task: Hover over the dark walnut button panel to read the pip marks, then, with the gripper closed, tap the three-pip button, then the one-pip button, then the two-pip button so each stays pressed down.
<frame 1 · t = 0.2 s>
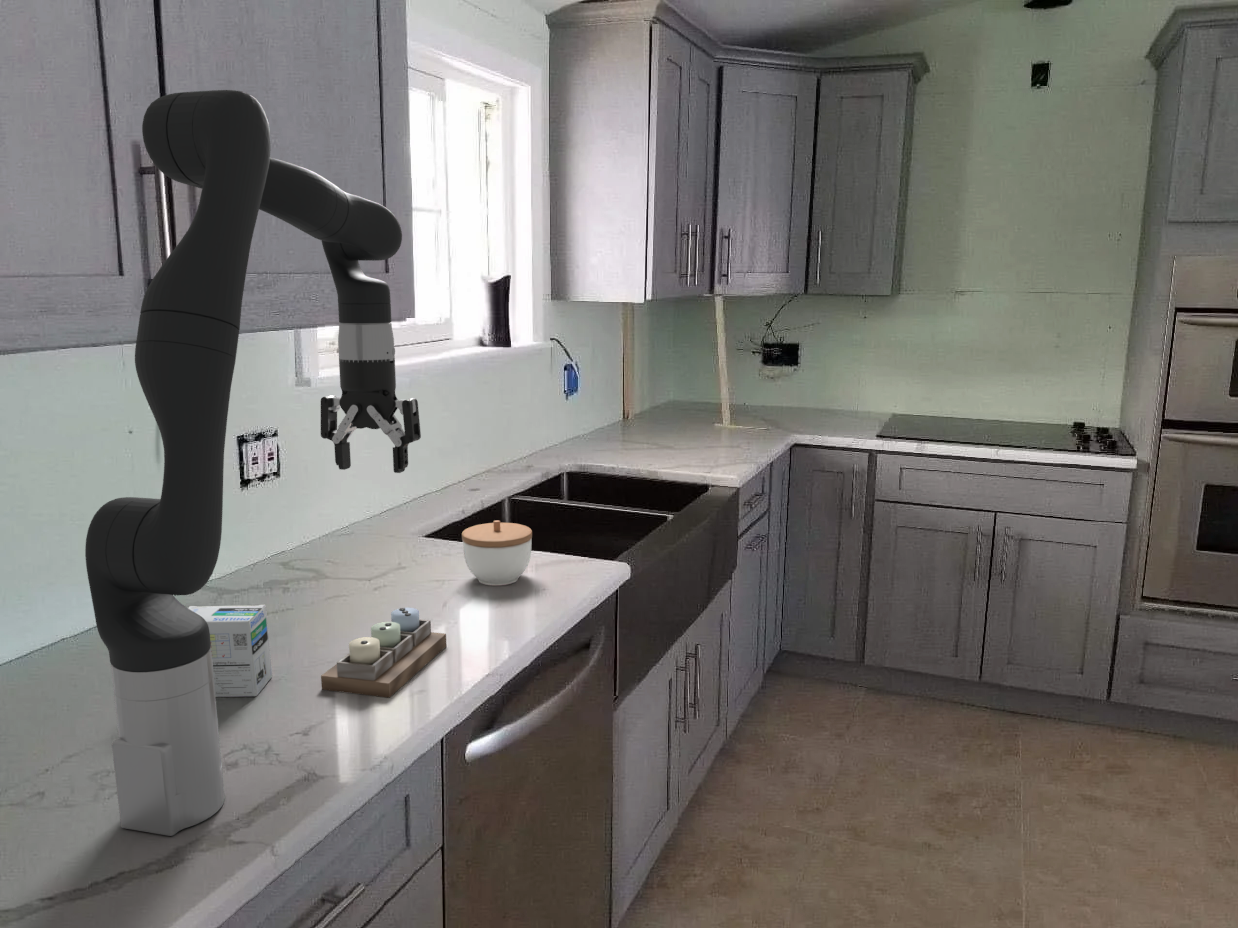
hand: (372, 470, 135), 27 cm above the worktop, tool pointing down, fingers open, 8 cm apart
two-pip button: (385, 634, 134), point 5 cm above the worktop, slide at 0.0 cm
light bulb box: (226, 689, 128), on the worktop
lidded bowl: (498, 580, 173), on the worktop
button panel: (387, 666, 135), on the worktop
one-pip button: (364, 650, 128), point 5 cm above the worktop, slide at 0.0 cm
three-pip button: (405, 619, 140), point 5 cm above the worktop, slide at 0.0 cm
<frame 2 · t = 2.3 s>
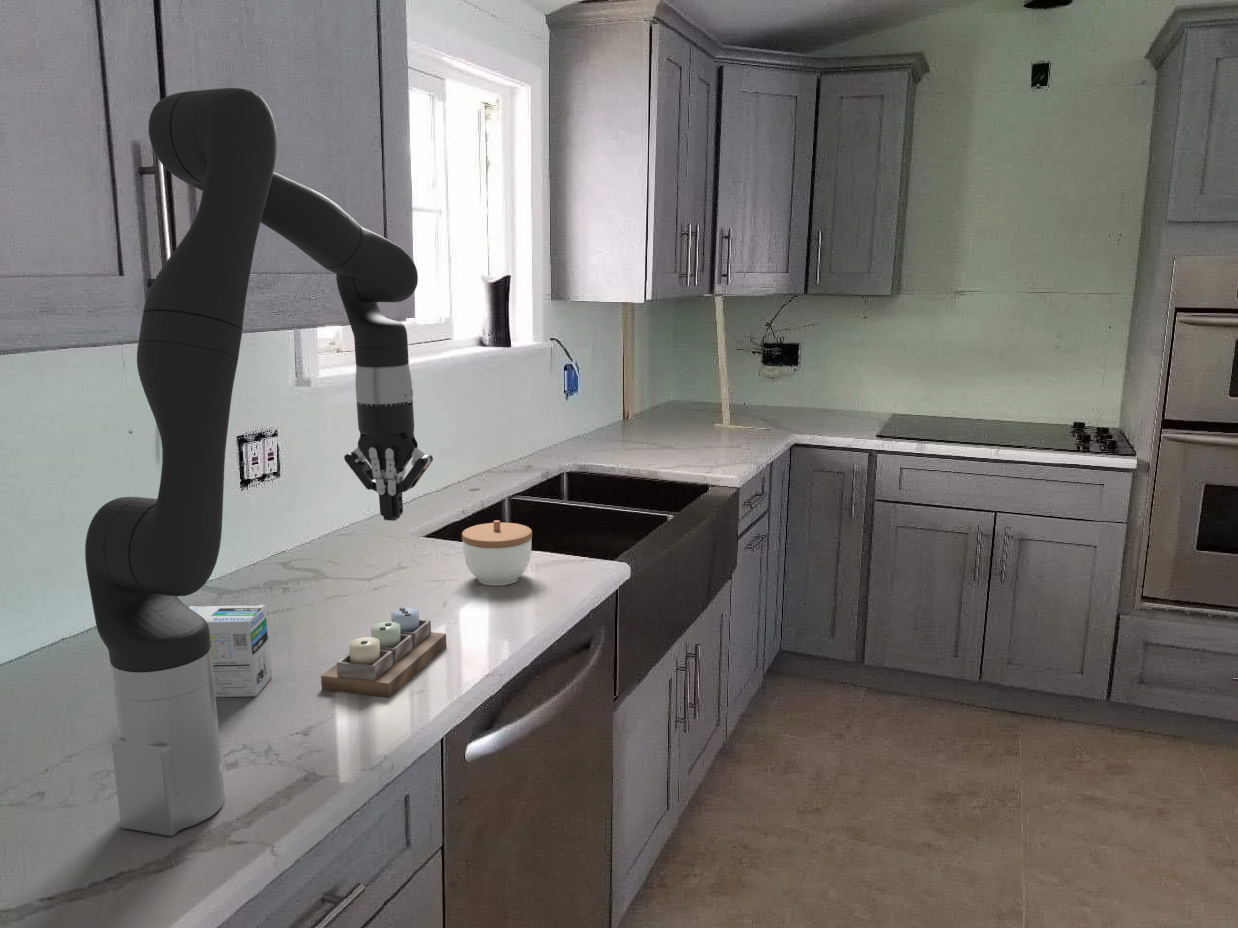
hand: (392, 518, 134), 21 cm above the worktop, tool pointing down, fingers closed
nothing on the worktop moved.
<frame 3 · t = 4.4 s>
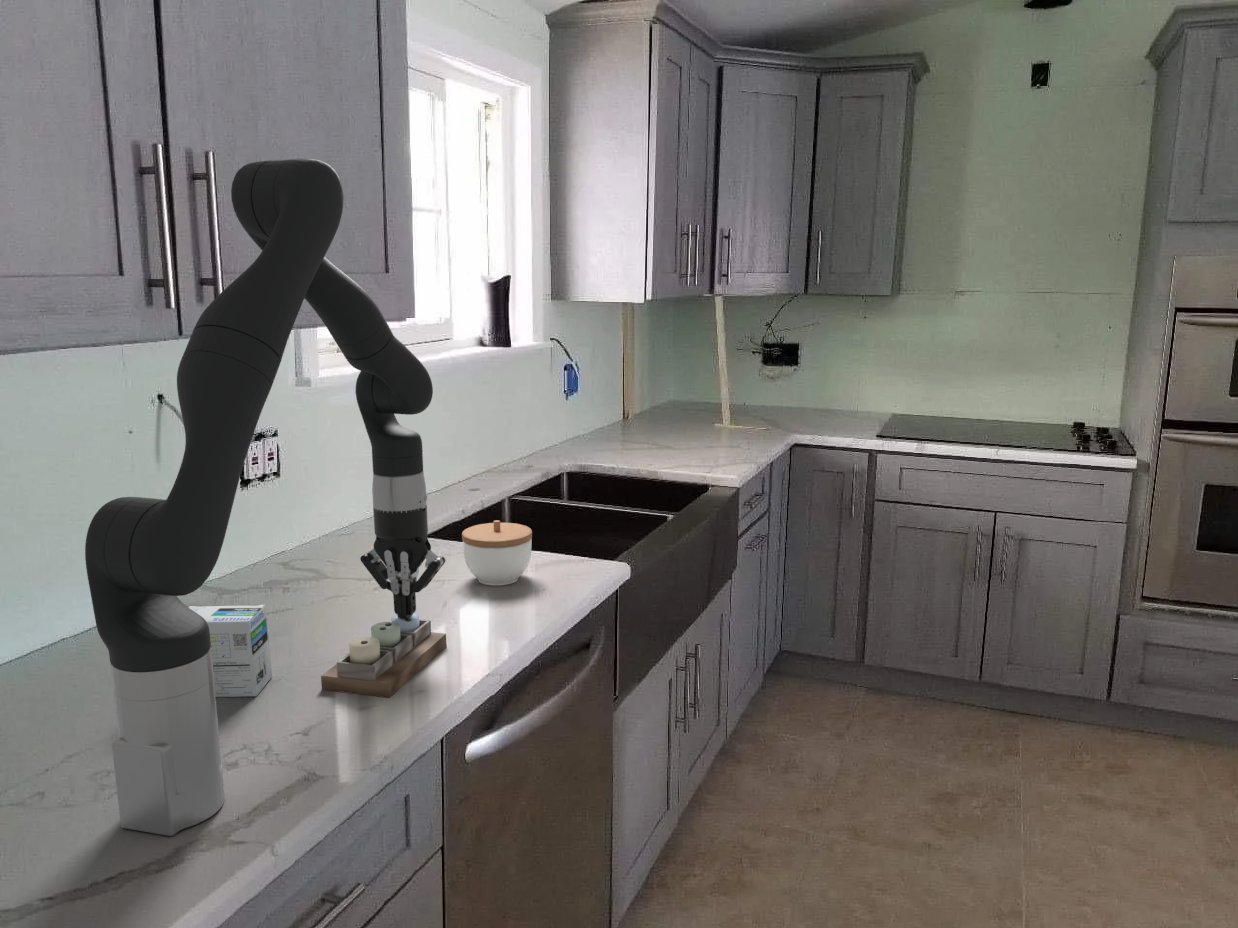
hand: (405, 616, 140), 5 cm above the worktop, tool pointing down, fingers closed
three-pip button: (405, 625, 140), point 4 cm above the worktop, slide at 0.9 cm, touching gripper
everything else where it was.
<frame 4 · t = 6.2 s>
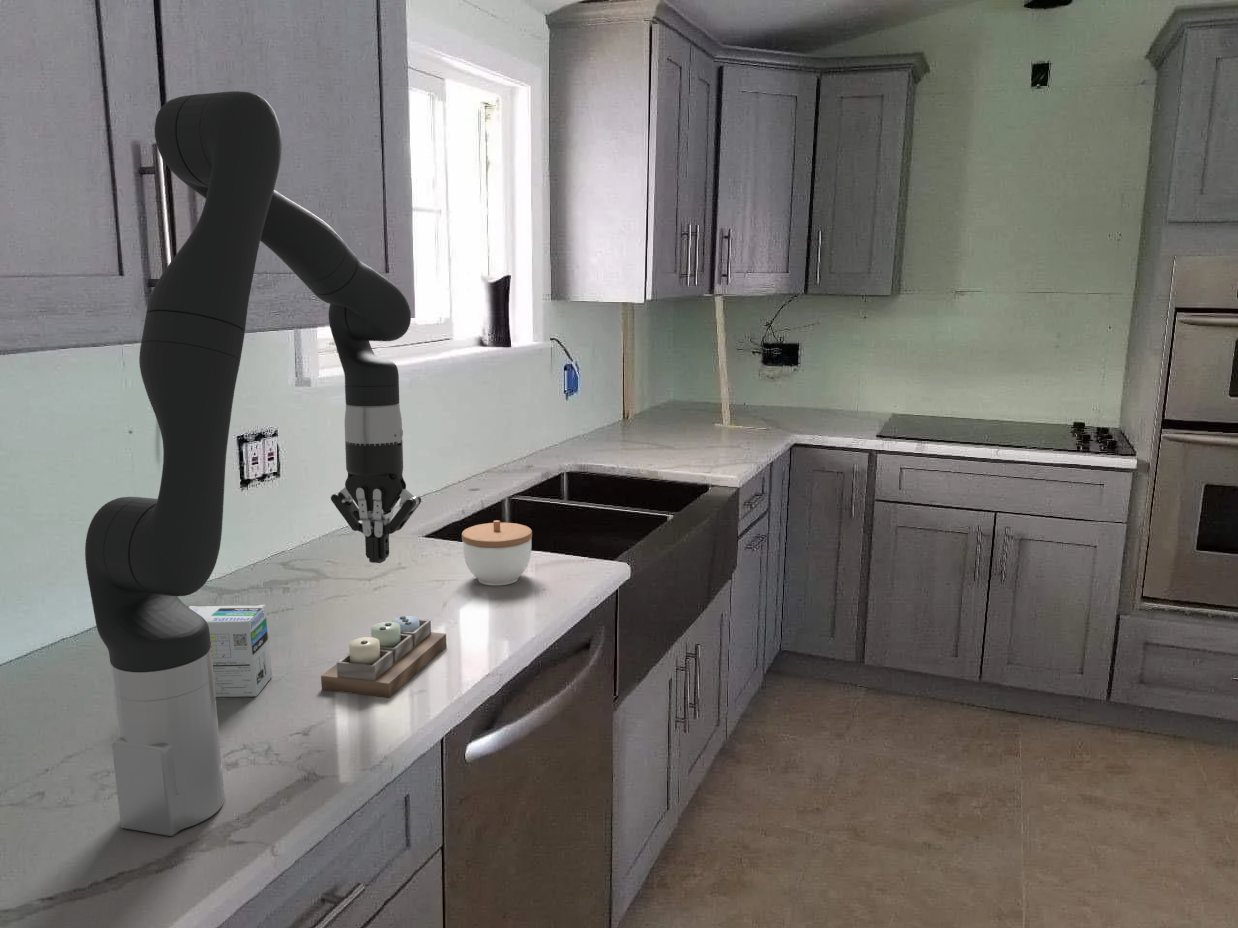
hand: (378, 561, 131), 16 cm above the worktop, tool pointing down, fingers closed
three-pip button: (405, 628, 140), point 3 cm above the worktop, slide at 1.3 cm
everything else where it was.
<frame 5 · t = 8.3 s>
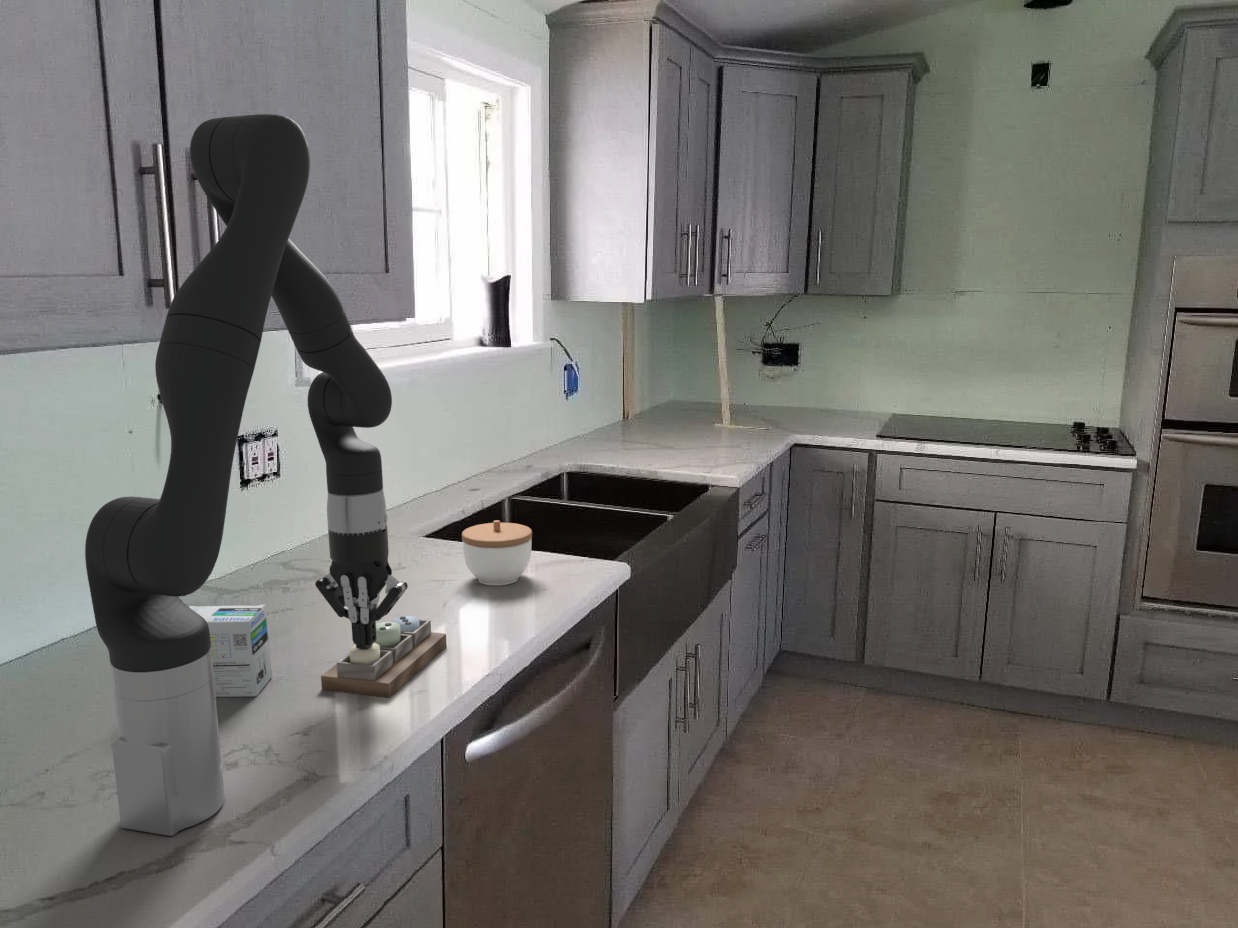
hand: (365, 646, 128), 5 cm above the worktop, tool pointing down, fingers closed
one-pip button: (365, 656, 128), point 4 cm above the worktop, slide at 0.8 cm, touching gripper
everything else where it was.
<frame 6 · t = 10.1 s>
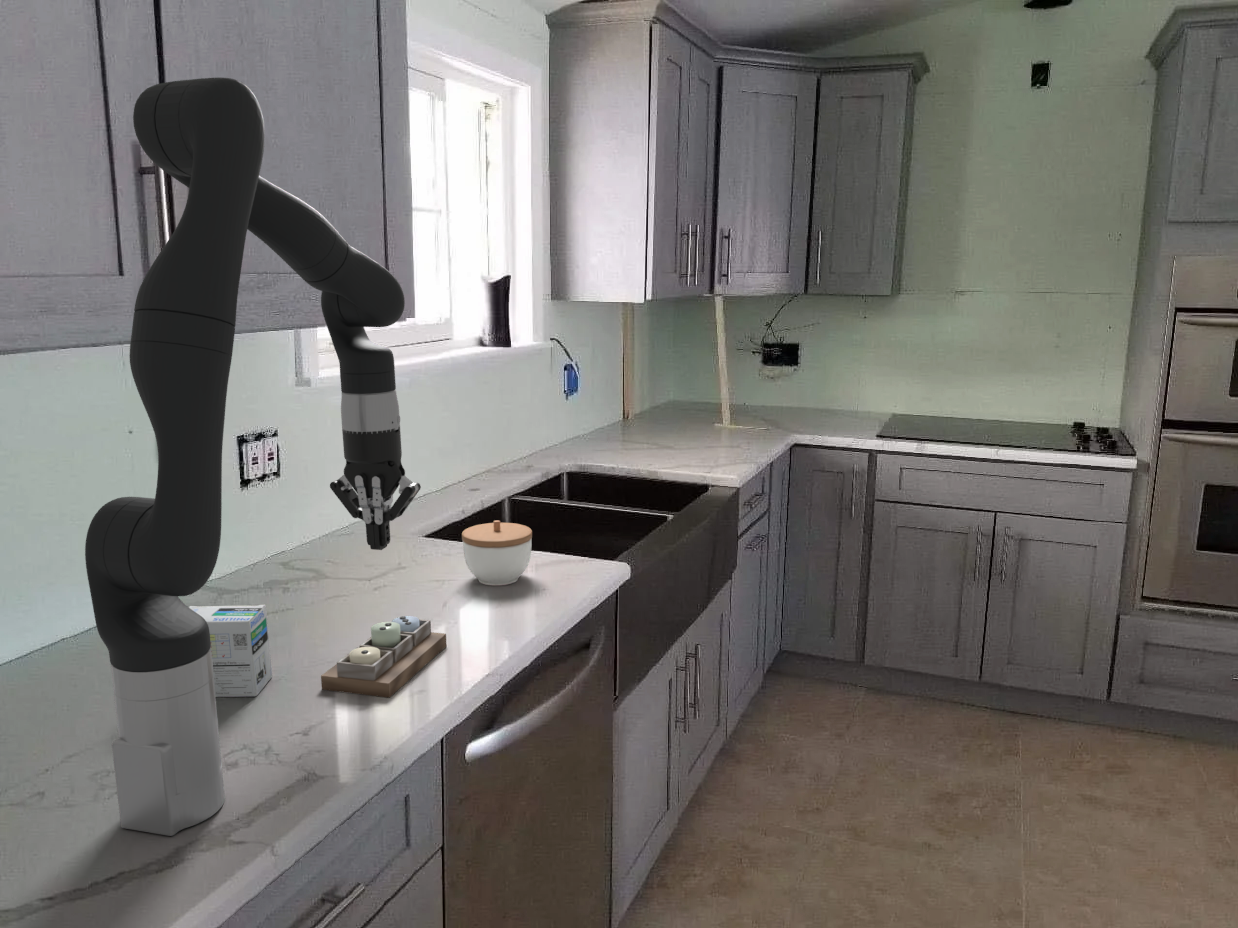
hand: (379, 548, 131), 18 cm above the worktop, tool pointing down, fingers closed
one-pip button: (365, 660, 129), point 3 cm above the worktop, slide at 1.4 cm
everything else where it was.
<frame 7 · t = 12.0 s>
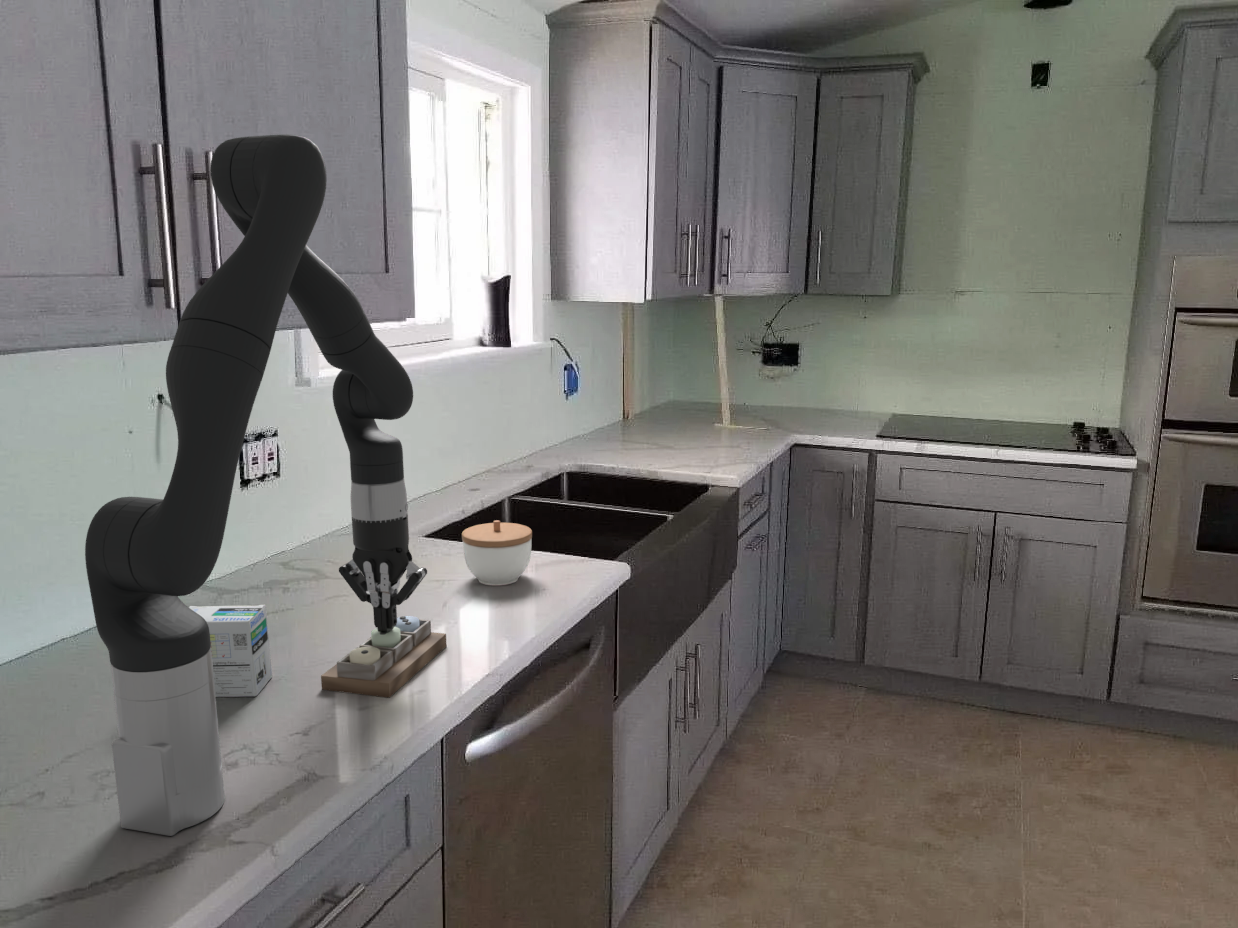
hand: (386, 630, 134), 5 cm above the worktop, tool pointing down, fingers closed
two-pip button: (386, 639, 134), point 4 cm above the worktop, slide at 0.7 cm, touching gripper
everything else where it was.
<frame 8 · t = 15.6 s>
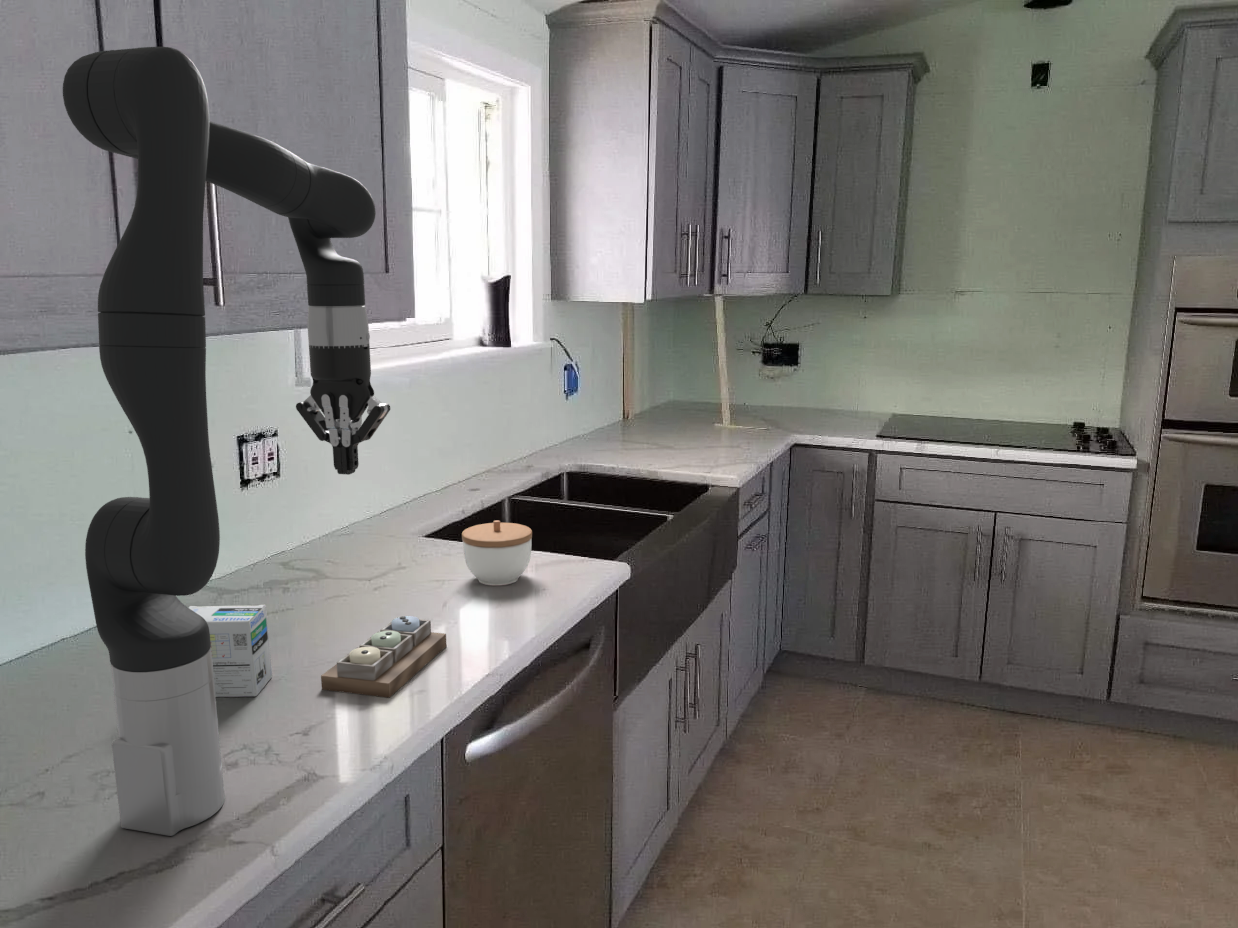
hand: (346, 473, 125), 29 cm above the worktop, tool pointing down, fingers closed
two-pip button: (386, 643, 134), point 3 cm above the worktop, slide at 1.4 cm
everything else where it was.
at the end: three-pip button slide at 1.3 cm; one-pip button slide at 1.4 cm; two-pip button slide at 1.4 cm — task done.
